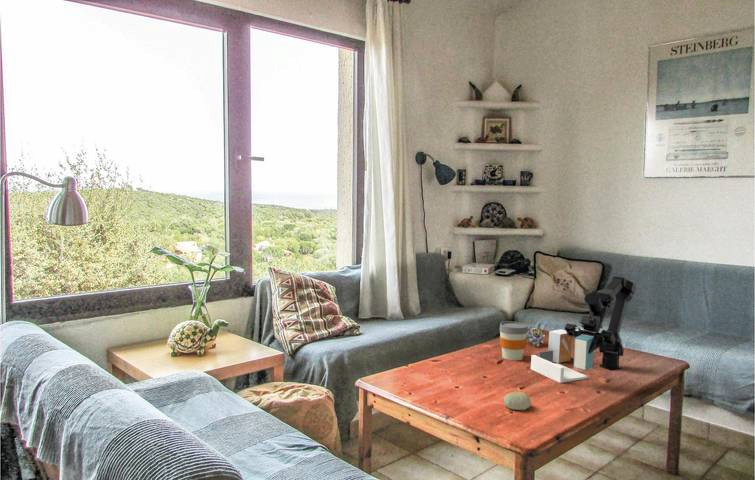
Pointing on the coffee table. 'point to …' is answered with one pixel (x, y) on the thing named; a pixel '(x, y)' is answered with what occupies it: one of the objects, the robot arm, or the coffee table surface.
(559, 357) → the small box
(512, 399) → the sea urchin shell
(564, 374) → the shelf
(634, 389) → the coffee table surface
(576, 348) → the teal rectangular block
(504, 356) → the reusable coffee cup
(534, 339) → the passion flower
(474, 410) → the coffee table surface
